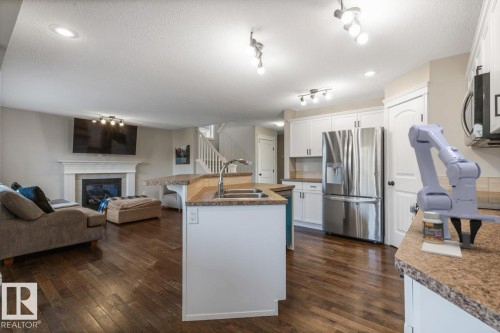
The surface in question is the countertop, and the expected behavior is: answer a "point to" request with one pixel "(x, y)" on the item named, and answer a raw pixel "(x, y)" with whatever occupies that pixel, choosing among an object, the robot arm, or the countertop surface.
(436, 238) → the pill bottle
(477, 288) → the countertop surface
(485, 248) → the countertop surface
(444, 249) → the pull board
